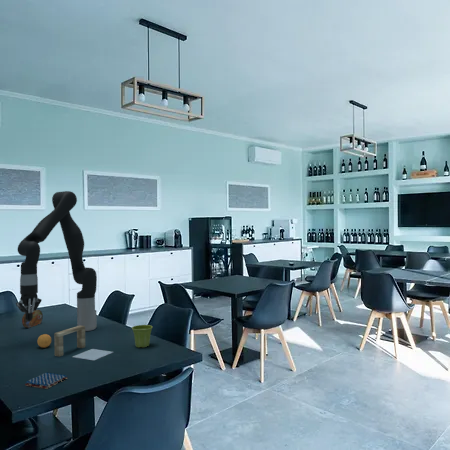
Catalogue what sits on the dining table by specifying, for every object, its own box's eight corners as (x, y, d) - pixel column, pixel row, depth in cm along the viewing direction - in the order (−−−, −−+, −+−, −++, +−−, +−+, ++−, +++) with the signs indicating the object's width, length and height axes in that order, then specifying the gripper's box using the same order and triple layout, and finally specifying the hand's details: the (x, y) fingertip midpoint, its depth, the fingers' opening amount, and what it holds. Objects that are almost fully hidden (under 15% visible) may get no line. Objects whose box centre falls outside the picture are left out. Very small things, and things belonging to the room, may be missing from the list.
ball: (45, 344, 196) (44, 332, 196) (54, 346, 194) (54, 333, 194) (34, 348, 191) (34, 335, 191) (43, 349, 188) (43, 336, 188)
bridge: (54, 355, 179) (54, 333, 179) (80, 346, 193) (80, 325, 193) (59, 356, 178) (59, 333, 178) (85, 347, 192) (85, 325, 192)
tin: (26, 329, 227) (25, 313, 227) (20, 329, 228) (20, 313, 228) (43, 322, 242) (43, 308, 242) (38, 322, 243) (38, 308, 243)
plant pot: (145, 341, 199) (145, 323, 199) (156, 345, 192) (156, 326, 192) (128, 346, 192) (127, 327, 192) (139, 350, 186) (139, 330, 186)
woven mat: (23, 387, 146) (23, 381, 146) (46, 377, 156) (46, 371, 156) (46, 391, 142) (46, 385, 142) (68, 380, 152) (68, 374, 152)
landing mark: (92, 349, 188) (92, 348, 188) (113, 352, 183) (113, 351, 183) (72, 357, 177) (72, 356, 177) (94, 360, 172) (94, 360, 172)
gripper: (22, 285, 189) (22, 324, 189) (46, 282, 201) (46, 318, 201) (10, 285, 192) (11, 322, 192) (35, 281, 204) (35, 317, 204)
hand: (29, 320), depth 196 cm, fingers closed
